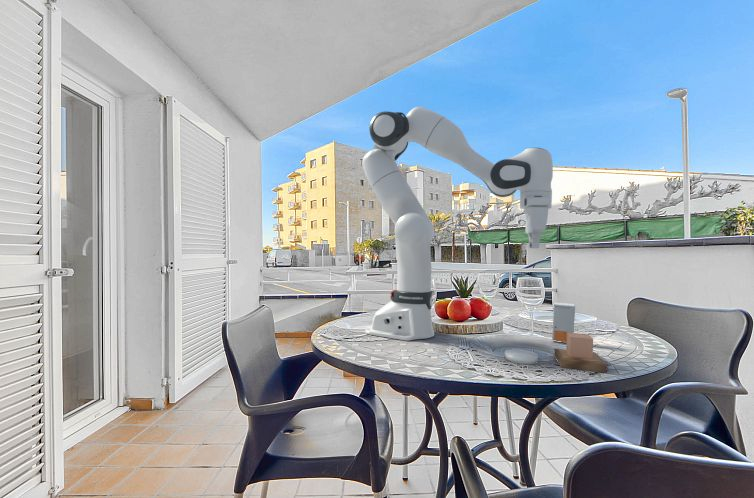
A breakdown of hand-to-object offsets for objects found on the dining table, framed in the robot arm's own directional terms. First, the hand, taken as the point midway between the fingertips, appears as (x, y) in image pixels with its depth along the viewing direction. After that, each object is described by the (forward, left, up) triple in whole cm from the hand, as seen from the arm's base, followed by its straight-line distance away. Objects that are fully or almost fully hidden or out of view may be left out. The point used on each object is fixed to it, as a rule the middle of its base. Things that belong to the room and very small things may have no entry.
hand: (533, 248), depth 113 cm
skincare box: (+10, +6, -29) cm, 32 cm away
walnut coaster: (+10, -16, -29) cm, 35 cm away
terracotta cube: (+10, -16, -27) cm, 33 cm away
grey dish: (-4, -18, -29) cm, 34 cm away
